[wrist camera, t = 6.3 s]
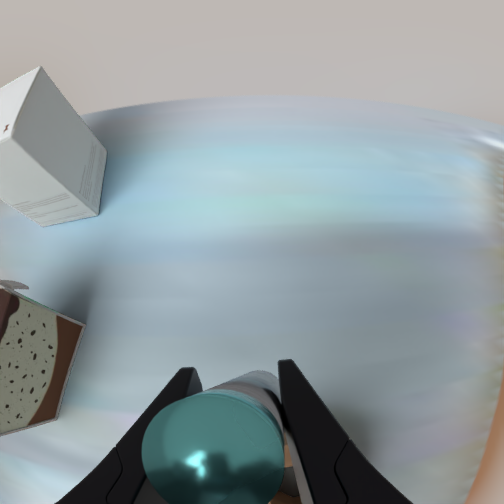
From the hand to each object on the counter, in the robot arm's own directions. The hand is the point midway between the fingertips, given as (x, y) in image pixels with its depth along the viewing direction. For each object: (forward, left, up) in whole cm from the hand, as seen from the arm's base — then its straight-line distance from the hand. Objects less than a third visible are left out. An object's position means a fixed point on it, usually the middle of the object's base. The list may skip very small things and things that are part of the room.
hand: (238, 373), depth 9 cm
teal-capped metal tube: (-1, +1, -7) cm, 7 cm away
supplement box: (+23, -3, -14) cm, 27 cm away
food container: (+15, +11, -14) cm, 23 cm away
